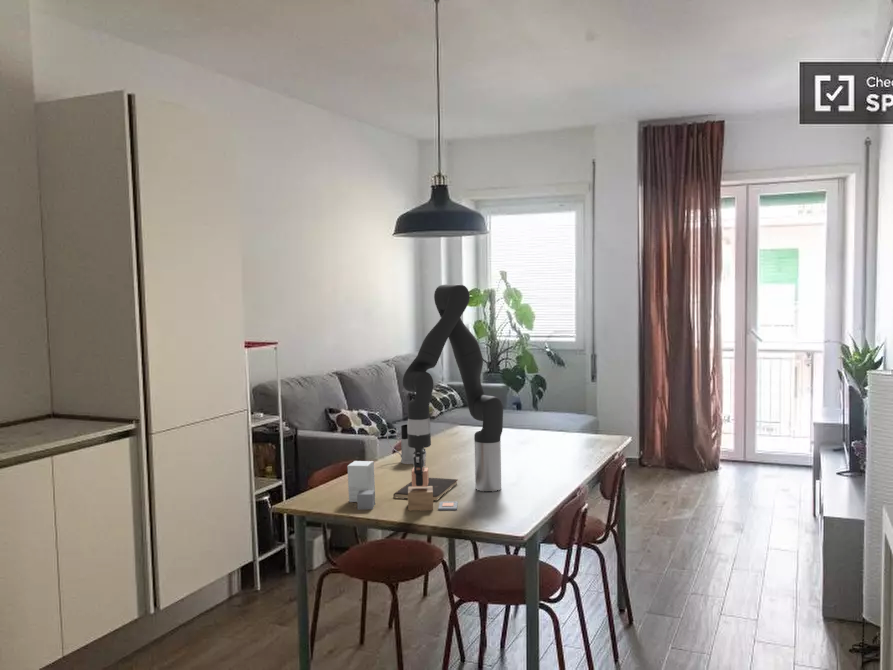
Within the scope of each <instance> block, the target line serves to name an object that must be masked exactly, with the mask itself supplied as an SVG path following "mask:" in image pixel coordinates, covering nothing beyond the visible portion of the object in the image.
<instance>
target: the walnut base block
mask: <svg viewBox="0 0 893 670" xmlns="http://www.w3.org/2000/svg"><path fill="white" fill-rule="evenodd" d="M407 507H408V510H420V511H434V501H433V486H427V487H412V486H411V487H408V499H407ZM408 510H407V511H408Z"/></svg>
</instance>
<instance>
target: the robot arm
mask: <svg viewBox="0 0 893 670" xmlns="http://www.w3.org/2000/svg"><path fill="white" fill-rule="evenodd" d="M470 295H471V294H470V291H469V289H468V287H466V286H465V285H464V284H461V283H450V284H449V283H447V284H440V285H438V286H437V287H436V289H435V290H434V295H433V298H434V304H435V307H436V310H437V312H438V314H439V317H440V319H438V320H439V321H437V322H436V324H435V325H434V326H433V327H432V328H431V330H430V331H429V332H428V333H427V335H426V336H425V337H424V339H423V340H422V343H421V346H420V348H419V350H418V352H417V355H416V357H415V358H414V359H413V360H412V362H411V363H410V365H409V366H408V367H407V369H406V370H405V372H404V374H403V377H402V386H403V388H404V390H405V391H407V392H410V393H415V396H414V399H412V400H409V401H408V403H407V430H408V446H409V447H411V448H415V451H414V453H413V459H414V464H413V468H414V473H415V474H416V485H417V486H422V485H423V468H426V462H427V458H426V457H427V451H426V448H429V447H430V446H431V445H432V440H431V439H432V435H431V430H432V429H431V420H430V403H431V401H432V400H431V399H432V395H433V392H434V379H433V376H432V375H431V374H430V373H429V372H427V371H428V370H429V369H434V368H435V367H436V366H437V365H438V362H439V360H440V358H441V354H442V352H443V349H444V347H445V345H446V343H447V341H448V339H449V343H450V345H451V349H452V352H453V356H454V359H455V362H456V365H457V368H458V370H459V373H460V374H459V375H460V377H461V380H462V385H463V388H464V392H465V397H466V401H467V403H466V404H467V408H468V411H469V413H470V416H471V417H472V418H473V419H474V420H477V421H479V422H482V428H481V429H480V430H478V431H476V432H475V433H474V436H473V437H474V439H473V440H474V443H473V444H474V480H475V481H474V482H475V484H474V485H475V486H474V487H475V488H476V489H477V490H476V489H475V490H476V491H478V490H480V492H484V491H492V492H497V490H498V491H500V490H502V456H501V455H502V450H501V447H502V445H501V437H502V433H503V426H504V421H503V420H504V408H503V407H504V406H503V403H502V400H501V399H500V398H499V397H497V396H493V395H487V394H486V393H485V391H484V390H483V386H482V382H481V374H482V372H483V365H484V358H483V354H482V351H481V348H480V345H479V342H478V340H477V338H476V337H475V336H474V334H473V333H472V332H471V331H470V329H469V328H468V327H467V325H466V324H465V323H464V321H463V320H462V318H461V317H462V316H463V314H464V312H465V311H466V309H467V307H468V304H469V303H470V298H471V297H470ZM417 468H420V470H417Z"/></svg>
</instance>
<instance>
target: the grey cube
mask: <svg viewBox="0 0 893 670" xmlns="http://www.w3.org/2000/svg"><path fill="white" fill-rule="evenodd" d="M356 503H357V510H374V508H375V506H374V505H376V489H375V490H360V491H359V492H358V494H357V502H356ZM373 507H374V508H373Z"/></svg>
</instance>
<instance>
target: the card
mask: <svg viewBox="0 0 893 670" xmlns="http://www.w3.org/2000/svg"><path fill="white" fill-rule="evenodd" d="M457 505H459V501H457V500H455V501H450V500H449V501H442V500H441V501H439V504H438V508H437V511H457V510H458V506H457Z"/></svg>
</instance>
